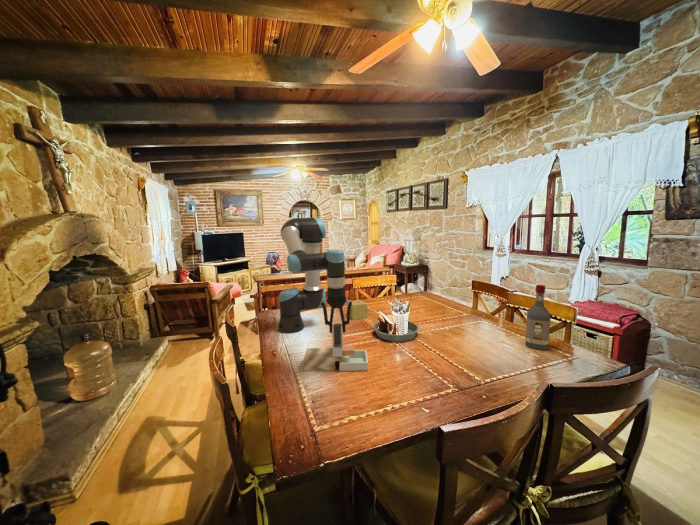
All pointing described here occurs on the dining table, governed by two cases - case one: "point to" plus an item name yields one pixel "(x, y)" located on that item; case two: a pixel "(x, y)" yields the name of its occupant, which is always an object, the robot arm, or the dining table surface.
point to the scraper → (337, 341)
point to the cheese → (358, 310)
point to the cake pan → (398, 338)
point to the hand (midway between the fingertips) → (337, 339)
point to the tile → (348, 350)
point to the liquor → (538, 323)
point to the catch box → (355, 362)
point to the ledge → (321, 359)
